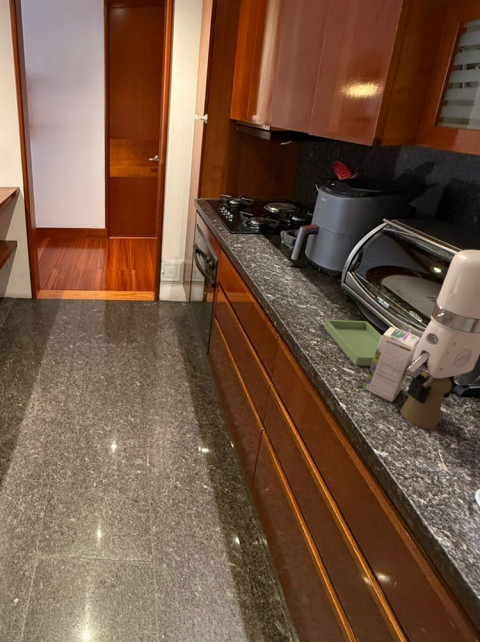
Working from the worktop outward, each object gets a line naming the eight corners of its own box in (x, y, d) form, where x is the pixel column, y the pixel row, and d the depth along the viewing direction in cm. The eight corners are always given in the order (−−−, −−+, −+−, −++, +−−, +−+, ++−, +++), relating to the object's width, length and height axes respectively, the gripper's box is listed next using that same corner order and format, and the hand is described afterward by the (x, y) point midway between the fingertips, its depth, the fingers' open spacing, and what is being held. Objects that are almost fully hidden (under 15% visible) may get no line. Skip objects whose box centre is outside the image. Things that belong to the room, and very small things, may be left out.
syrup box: (371, 378, 90) (388, 325, 85) (401, 391, 86) (422, 336, 81) (362, 388, 87) (380, 334, 82) (393, 403, 83) (414, 347, 77)
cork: (428, 410, 81) (446, 367, 77) (443, 432, 76) (464, 387, 72) (395, 404, 83) (411, 362, 78) (407, 425, 77) (426, 381, 73)
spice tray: (403, 368, 94) (406, 359, 93) (355, 365, 95) (357, 357, 94) (364, 328, 110) (367, 321, 109) (323, 327, 110) (325, 319, 110)
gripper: (445, 335, 65) (412, 418, 72) (518, 321, 69) (480, 401, 76) (402, 313, 72) (376, 390, 78) (471, 301, 75) (440, 376, 82)
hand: (427, 394), depth 77 cm, fingers closed on cork, 5 cm apart
